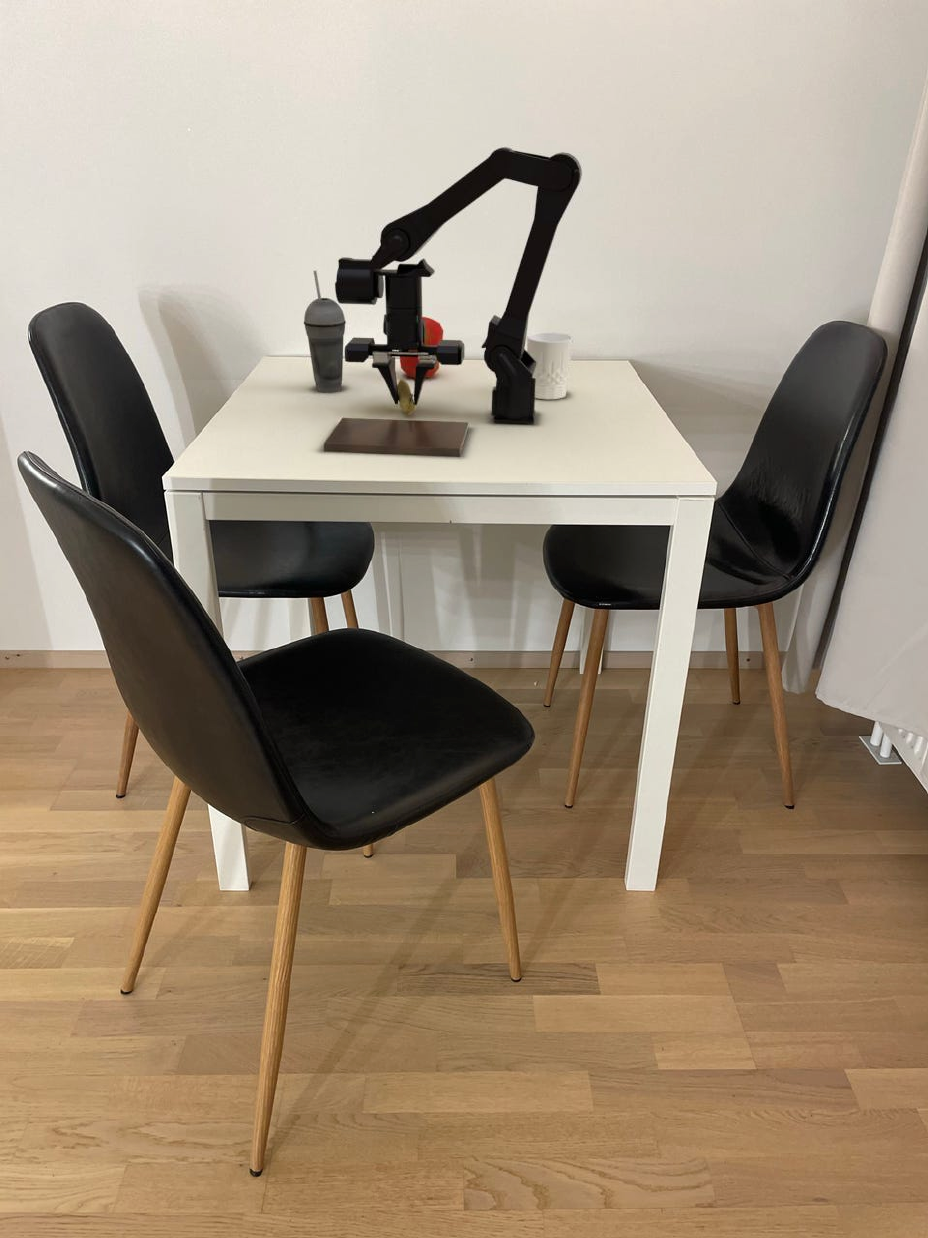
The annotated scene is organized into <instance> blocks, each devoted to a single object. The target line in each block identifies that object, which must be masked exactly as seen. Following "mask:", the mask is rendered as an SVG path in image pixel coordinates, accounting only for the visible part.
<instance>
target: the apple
mask: <svg viewBox="0 0 928 1238" xmlns="http://www.w3.org/2000/svg"><path fill="white" fill-rule="evenodd" d="M422 319H423V321H424V322H425V323H426V338H425V339H426V342H425V343H423V345H433V346H437V345H438V343H439V341H440V340H444V329H443V327H442V325H441V323H440V322H438V321H436V320H435V319H433V318H430V317H427V316H422ZM399 351H401V350H399ZM412 352H413V351H412ZM414 352H415V351H414ZM417 352H418V351H417ZM418 362H419V360H418V357H399V363H400V364H399V365H400V369H401V370H402V371H403V372H404V373H405V374H406V375H407V376H408V377H411V378H414V379H415V371H416V365H417V364H418ZM439 369H440V363H439V362H438V363H437V365H436V367H435V369H433V370H428V372H427V375H426V377H425V379H427V378H432V377H434V376H435V374H436V373H437V372H438V370H439Z"/></svg>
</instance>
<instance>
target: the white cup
mask: <svg viewBox="0 0 928 1238" xmlns="http://www.w3.org/2000/svg"><path fill="white" fill-rule="evenodd" d="M573 341H574V336H572V335H570V334H567V333H563V332H556V331H555V332H553V331H541V332H534V333H533V332H532V333H530V334H528V335H526V351H527V352H528V353H529V354H530V355H531V356H532V358H533V359H534V360H535V361H536V362H537V365H536V368H535V370H534V373H533V376H532V378H536V387H535V399H540V400H559V399H562V398H564V397H566V395H567V388H568V381H569V376H570V369H571V368H570V366H571V362H572V361H571V360H572V351H573V344H574V343H573Z"/></svg>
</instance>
